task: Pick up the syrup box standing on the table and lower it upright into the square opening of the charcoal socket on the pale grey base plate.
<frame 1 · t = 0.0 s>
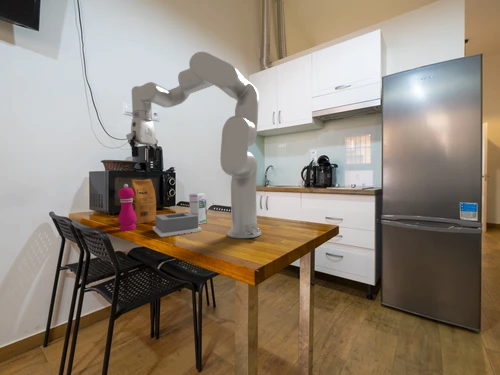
hand: (144, 157, 101), 31 cm above the table, tool pointing down, fingers open, 9 cm apart
syrup box: (198, 223, 114), on the table
coffee package: (142, 222, 121), on the table
pepper mill: (127, 229, 104), on the table
socket: (176, 230, 99), on the table
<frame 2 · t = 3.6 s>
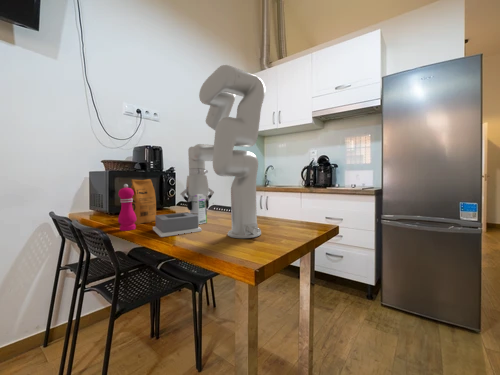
hand: (198, 209, 114), 7 cm above the table, tool pointing down, fingers closed on syrup box, 7 cm apart
syrup box: (198, 223, 114), on the table, touching gripper
everything else where it was.
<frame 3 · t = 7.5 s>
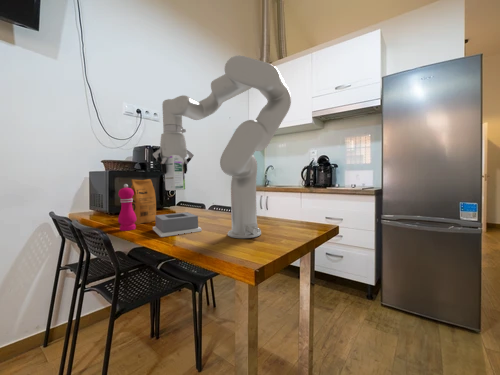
hand: (174, 173, 98), 24 cm above the table, tool pointing down, fingers closed on syrup box, 7 cm apart
syrup box: (175, 190, 99), point 17 cm above the table, touching gripper
everything else where it was.
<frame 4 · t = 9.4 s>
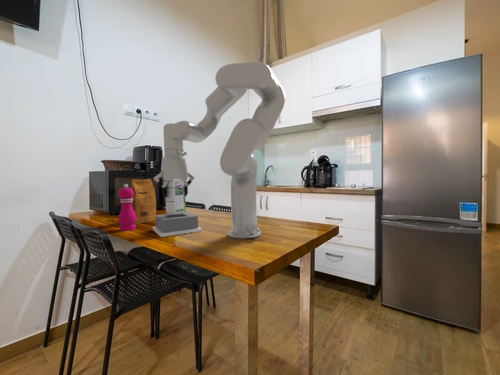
hand: (175, 196, 99), 14 cm above the table, tool pointing down, fingers closed on syrup box, 7 cm apart
syrup box: (175, 213, 99), point 7 cm above the table, touching gripper
everything else where it was.
when the fingers open (9 cm above the table, at t = 11.3 s): syrup box drops 1 cm, resting on socket.
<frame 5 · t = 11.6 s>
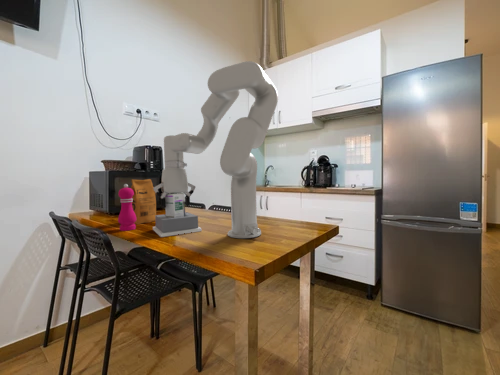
hand: (175, 206, 99), 10 cm above the table, tool pointing down, fingers open, 9 cm apart
syrup box: (176, 228, 99), point 1 cm above the table, touching socket
everything else where it was.
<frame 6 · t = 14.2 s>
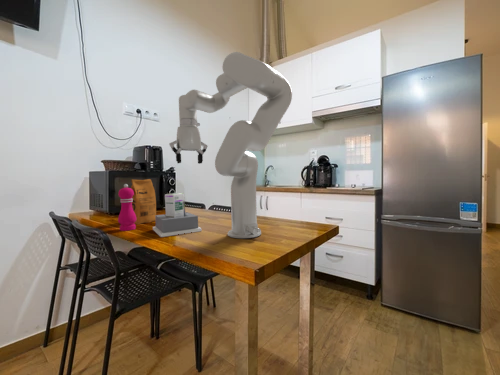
hand: (189, 163, 105), 29 cm above the table, tool pointing down, fingers open, 9 cm apart
nothing on the table moved.
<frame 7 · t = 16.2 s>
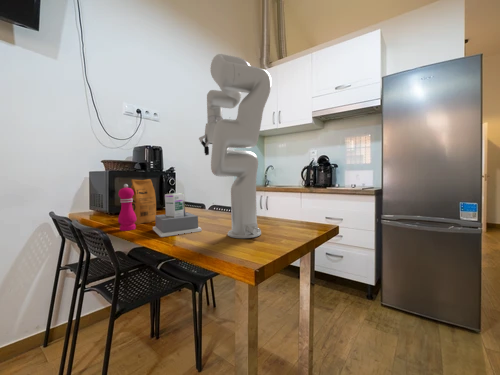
hand: (215, 155, 120), 33 cm above the table, tool pointing down, fingers open, 9 cm apart
nothing on the table moved.
at the end: syrup box 0.2 cm off-centre on the socket, point 1.0 cm above the socket's base; syrup box tilted 0°; the gripper is holding nothing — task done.
